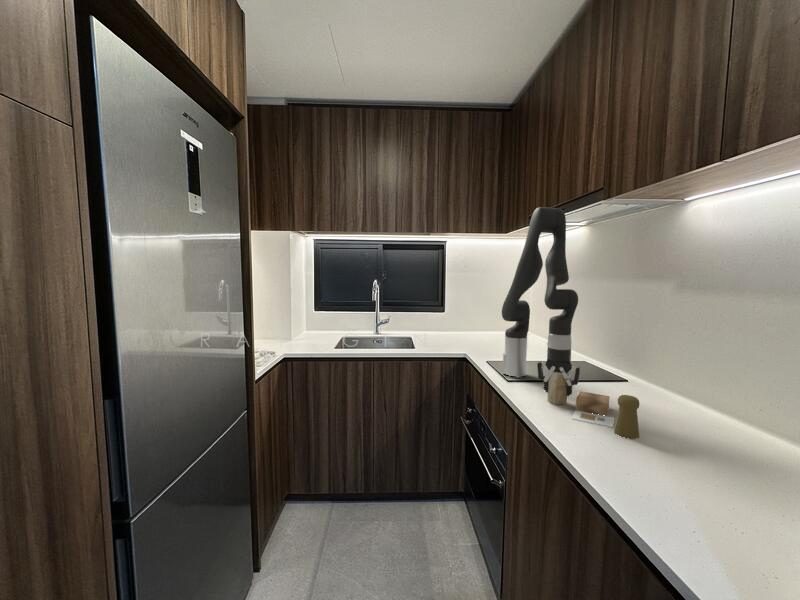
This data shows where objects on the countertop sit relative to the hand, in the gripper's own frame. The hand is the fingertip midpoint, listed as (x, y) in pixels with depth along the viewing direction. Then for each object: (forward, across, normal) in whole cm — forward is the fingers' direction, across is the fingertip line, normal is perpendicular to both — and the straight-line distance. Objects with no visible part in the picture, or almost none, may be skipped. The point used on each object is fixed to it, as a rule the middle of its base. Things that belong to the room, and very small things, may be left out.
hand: (557, 393), depth 126 cm
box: (+3, 0, 0) cm, 3 cm away
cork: (+3, -21, +16) cm, 27 cm away
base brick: (+3, -11, 0) cm, 11 cm away
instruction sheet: (+3, -12, +9) cm, 15 cm away
